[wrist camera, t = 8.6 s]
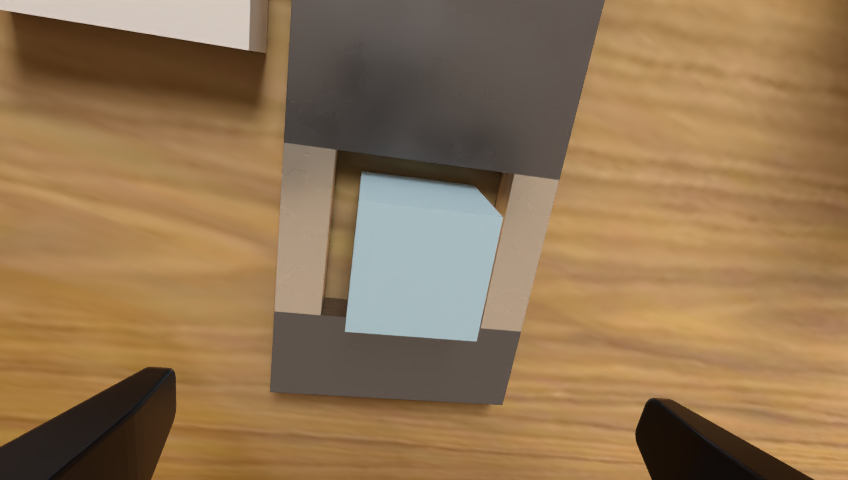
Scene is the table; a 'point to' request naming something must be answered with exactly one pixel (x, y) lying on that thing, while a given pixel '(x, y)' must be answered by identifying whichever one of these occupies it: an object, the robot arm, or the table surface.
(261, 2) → the stand
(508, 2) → the plate
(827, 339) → the table surface
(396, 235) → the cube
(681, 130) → the table surface
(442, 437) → the table surface
